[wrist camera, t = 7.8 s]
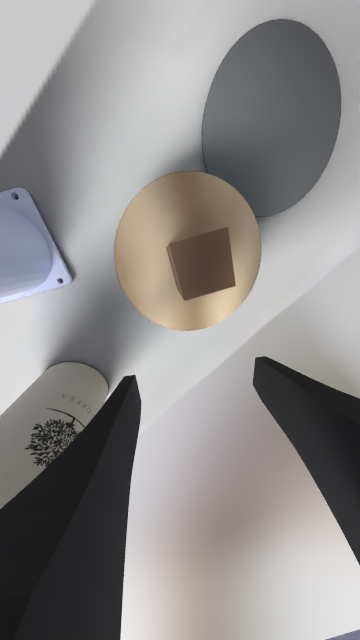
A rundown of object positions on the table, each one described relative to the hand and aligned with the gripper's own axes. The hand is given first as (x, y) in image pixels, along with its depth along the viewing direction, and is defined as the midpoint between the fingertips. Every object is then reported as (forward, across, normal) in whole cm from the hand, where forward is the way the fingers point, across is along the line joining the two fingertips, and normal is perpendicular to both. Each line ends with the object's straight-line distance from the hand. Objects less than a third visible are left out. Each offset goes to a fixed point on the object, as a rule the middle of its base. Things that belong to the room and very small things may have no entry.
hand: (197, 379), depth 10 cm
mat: (+10, -9, -16) cm, 21 cm away
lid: (+6, -1, -6) cm, 9 cm away
